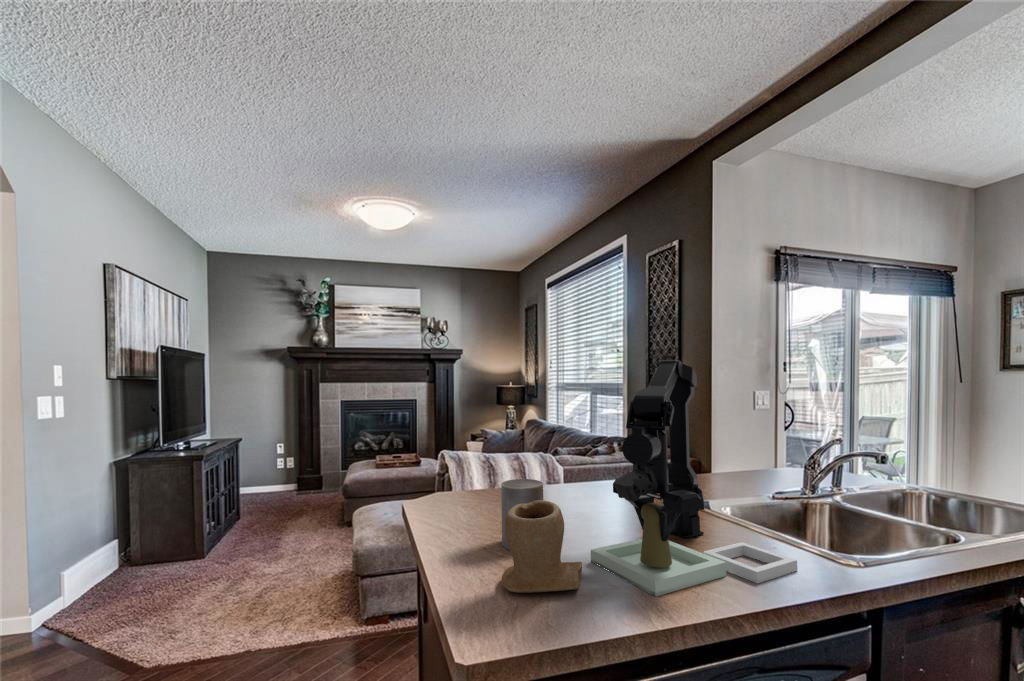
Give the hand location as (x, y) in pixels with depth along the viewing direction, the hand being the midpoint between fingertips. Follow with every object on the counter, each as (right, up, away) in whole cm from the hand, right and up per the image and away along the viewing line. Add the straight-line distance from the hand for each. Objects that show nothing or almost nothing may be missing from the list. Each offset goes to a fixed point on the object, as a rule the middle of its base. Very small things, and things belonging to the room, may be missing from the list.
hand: (655, 537), depth 95 cm
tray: (0, -6, -1) cm, 6 cm away
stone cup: (-23, -6, -9) cm, 25 cm away
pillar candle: (-26, -8, +14) cm, 30 cm away
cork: (0, -5, 0) cm, 5 cm away
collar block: (+19, -6, 0) cm, 20 cm away
